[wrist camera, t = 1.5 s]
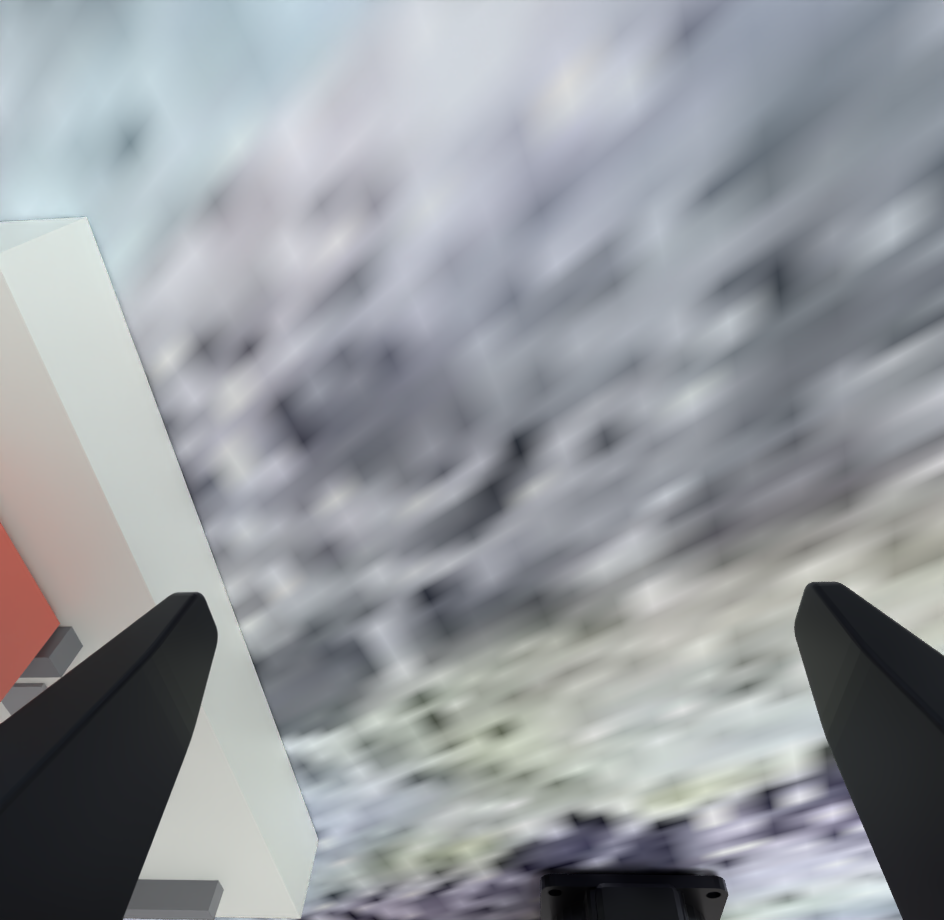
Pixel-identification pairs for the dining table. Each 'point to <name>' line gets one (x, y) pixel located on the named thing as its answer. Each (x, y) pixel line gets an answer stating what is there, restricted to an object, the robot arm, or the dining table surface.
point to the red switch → (20, 615)
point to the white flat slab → (133, 573)
